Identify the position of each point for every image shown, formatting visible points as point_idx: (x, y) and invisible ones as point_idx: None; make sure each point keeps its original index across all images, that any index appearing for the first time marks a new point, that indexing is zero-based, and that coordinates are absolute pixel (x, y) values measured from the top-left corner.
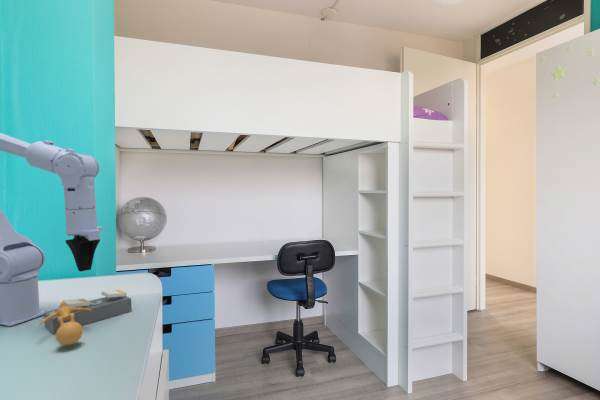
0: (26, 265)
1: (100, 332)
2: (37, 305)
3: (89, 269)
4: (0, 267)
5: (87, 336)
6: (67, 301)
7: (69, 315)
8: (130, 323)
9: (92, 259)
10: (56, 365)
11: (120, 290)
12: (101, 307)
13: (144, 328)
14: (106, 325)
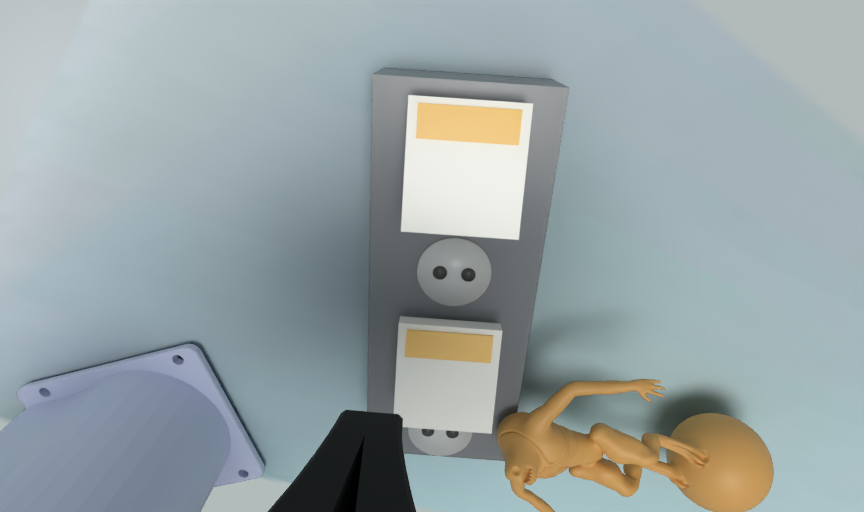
0: None
1: (676, 311)
2: (173, 413)
3: (402, 427)
4: None
5: (662, 355)
6: (429, 417)
7: (637, 464)
8: (721, 182)
9: (407, 485)
10: (789, 486)
11: (439, 107)
12: (539, 270)
13: (857, 176)
14: (622, 261)
